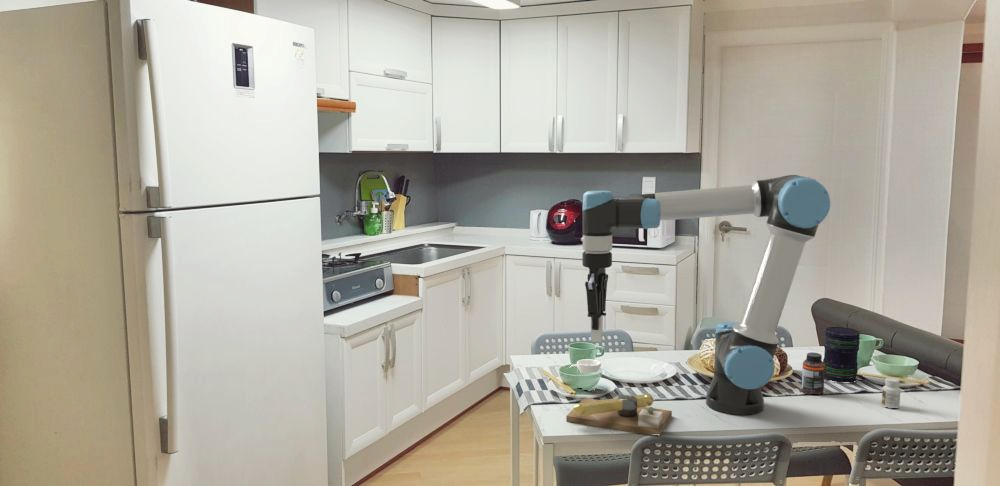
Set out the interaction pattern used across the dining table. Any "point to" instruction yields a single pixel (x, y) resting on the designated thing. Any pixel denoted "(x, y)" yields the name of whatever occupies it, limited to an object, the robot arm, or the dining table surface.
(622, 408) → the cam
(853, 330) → the storage jar
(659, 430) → the stand
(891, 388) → the pill bottle
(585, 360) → the cup
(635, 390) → the dining table surface
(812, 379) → the supplement bottle
